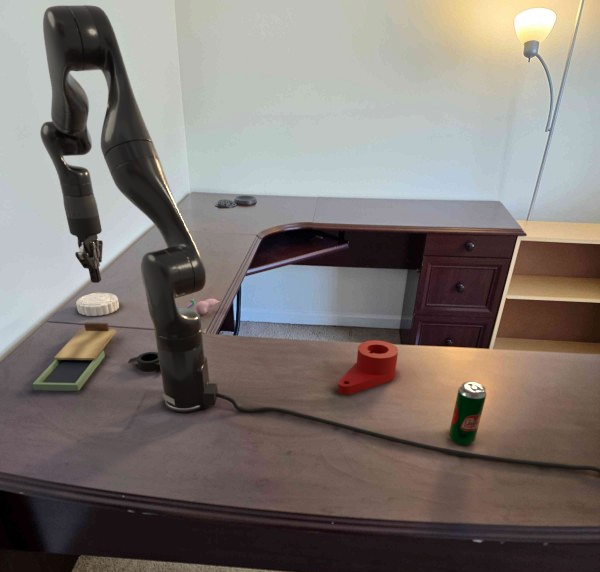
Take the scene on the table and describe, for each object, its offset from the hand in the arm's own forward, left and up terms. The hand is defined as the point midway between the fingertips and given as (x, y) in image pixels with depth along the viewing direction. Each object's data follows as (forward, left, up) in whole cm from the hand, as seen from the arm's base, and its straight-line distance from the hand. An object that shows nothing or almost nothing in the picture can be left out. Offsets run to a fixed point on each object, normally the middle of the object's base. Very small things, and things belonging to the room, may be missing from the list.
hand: (96, 281), depth 132 cm
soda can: (-87, +48, -15) cm, 100 cm away
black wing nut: (-18, +21, -15) cm, 31 cm away
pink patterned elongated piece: (-24, -12, -15) cm, 30 cm away
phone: (0, +25, -14) cm, 28 cm away
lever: (-70, +25, -15) cm, 76 cm away
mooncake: (+8, -16, -15) cm, 23 cm away
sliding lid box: (0, +25, -14) cm, 28 cm away
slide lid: (0, +14, -12) cm, 18 cm away
